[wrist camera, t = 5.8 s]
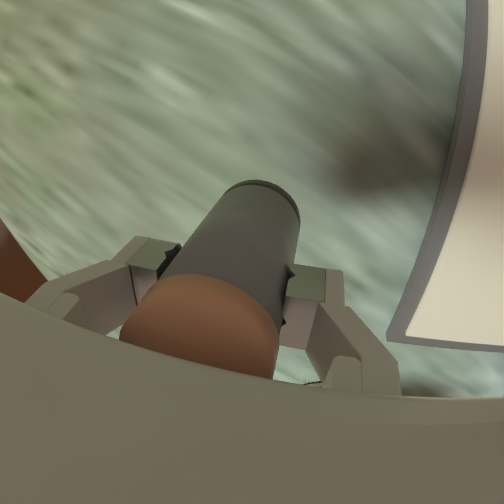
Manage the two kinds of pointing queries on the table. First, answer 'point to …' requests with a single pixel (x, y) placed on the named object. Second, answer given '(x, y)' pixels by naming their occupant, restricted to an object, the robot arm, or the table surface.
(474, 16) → the whiteboard
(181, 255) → the cylinder
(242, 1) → the table surface
